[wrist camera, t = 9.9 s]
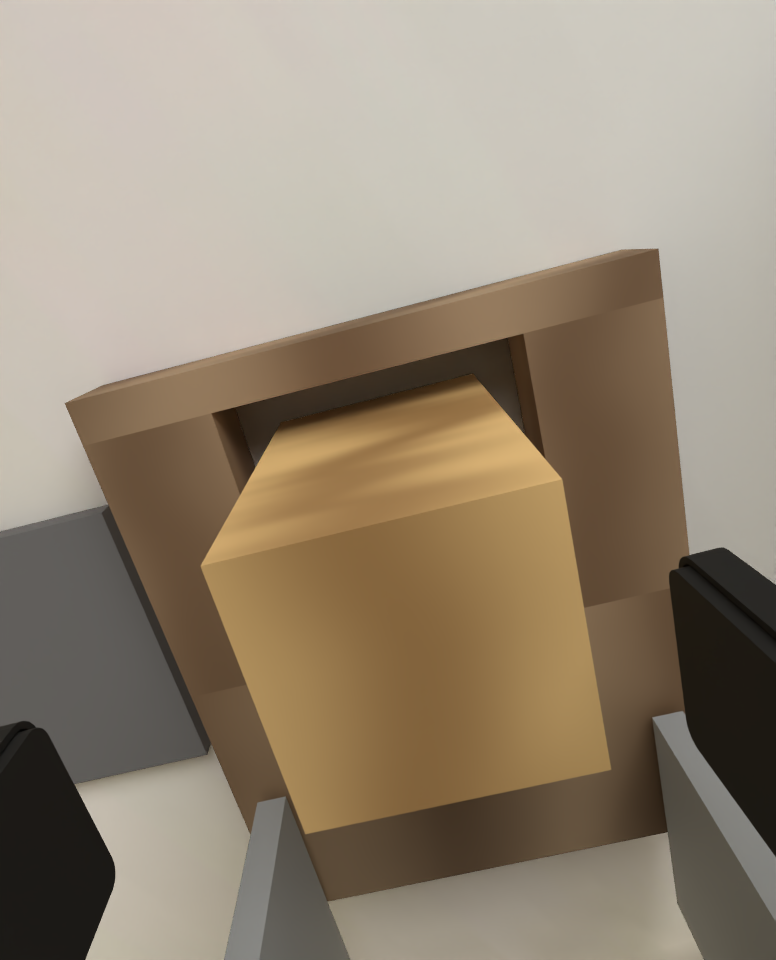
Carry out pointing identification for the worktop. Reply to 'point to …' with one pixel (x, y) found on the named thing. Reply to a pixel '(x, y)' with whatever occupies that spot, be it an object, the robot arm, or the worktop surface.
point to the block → (409, 608)
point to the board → (592, 515)
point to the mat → (89, 651)
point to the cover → (693, 845)
